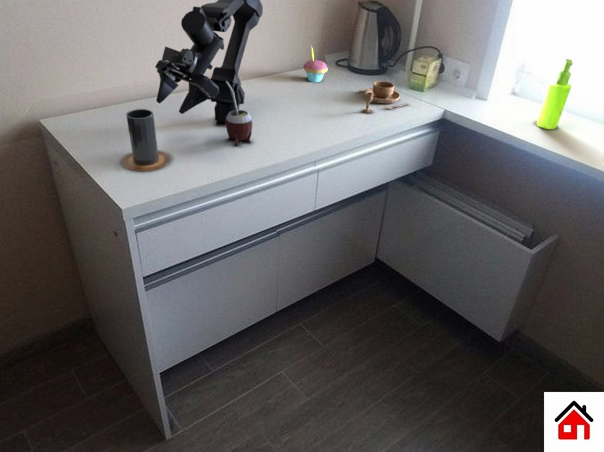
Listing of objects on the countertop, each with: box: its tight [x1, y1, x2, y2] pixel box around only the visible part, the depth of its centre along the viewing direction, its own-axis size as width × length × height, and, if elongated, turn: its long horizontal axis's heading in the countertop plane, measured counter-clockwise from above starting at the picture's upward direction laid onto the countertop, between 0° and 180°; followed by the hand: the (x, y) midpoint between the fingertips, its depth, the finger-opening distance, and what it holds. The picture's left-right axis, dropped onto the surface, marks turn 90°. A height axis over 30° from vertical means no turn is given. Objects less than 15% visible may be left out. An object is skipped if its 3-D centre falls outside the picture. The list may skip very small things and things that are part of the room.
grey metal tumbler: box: [125, 108, 159, 165], centre depth 119 cm, size 6×6×12 cm
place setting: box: [358, 80, 408, 114], centre depth 164 cm, size 18×20×6 cm
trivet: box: [122, 150, 170, 172], centre depth 122 cm, size 11×11×1 cm
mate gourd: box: [225, 81, 253, 147], centre depth 131 cm, size 8×8×15 cm
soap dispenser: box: [536, 58, 574, 130], centre depth 150 cm, size 6×7×20 cm
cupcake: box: [303, 45, 328, 83], centre depth 178 cm, size 9×8×12 cm
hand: (168, 107), depth 121 cm, fingers open, 9 cm apart
